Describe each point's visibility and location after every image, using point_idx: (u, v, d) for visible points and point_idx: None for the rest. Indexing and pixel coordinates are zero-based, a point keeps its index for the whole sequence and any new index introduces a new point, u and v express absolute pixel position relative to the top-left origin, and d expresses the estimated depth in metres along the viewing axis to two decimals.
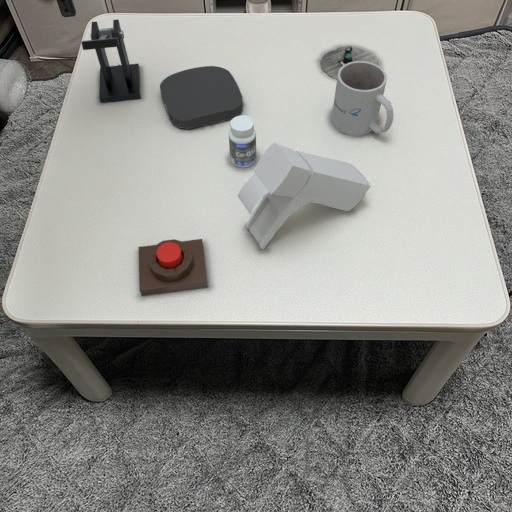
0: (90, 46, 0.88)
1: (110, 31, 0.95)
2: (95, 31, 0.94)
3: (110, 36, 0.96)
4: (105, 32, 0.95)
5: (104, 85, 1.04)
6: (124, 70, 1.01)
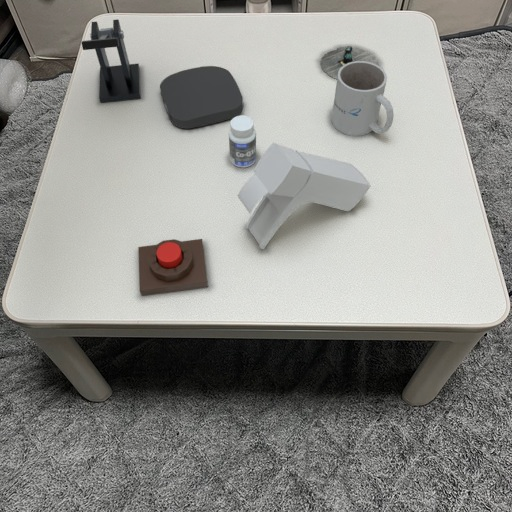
0: (90, 46, 0.88)
1: (110, 31, 0.95)
2: (95, 31, 0.94)
3: (110, 36, 0.96)
4: (105, 32, 0.95)
5: (104, 85, 1.04)
6: (124, 70, 1.01)
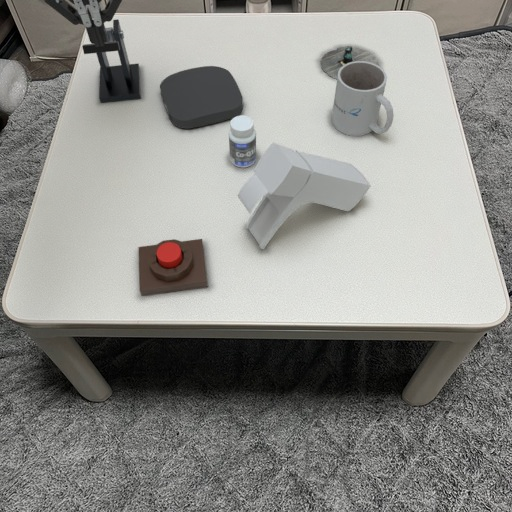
0: (91, 50, 0.88)
1: (110, 32, 0.95)
2: None
3: (110, 37, 0.96)
4: None
5: (104, 85, 1.04)
6: (124, 70, 1.01)
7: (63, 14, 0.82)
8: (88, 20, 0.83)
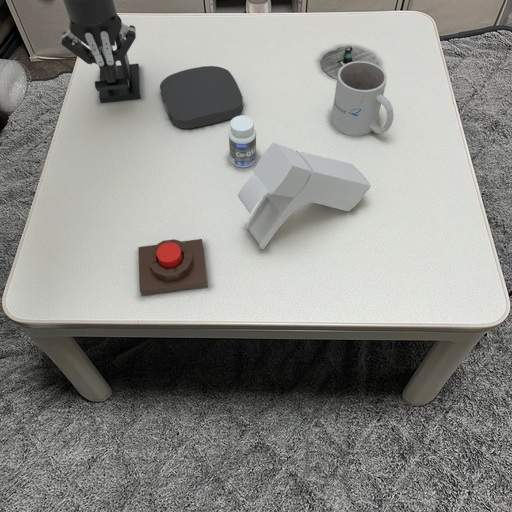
0: (103, 89, 0.95)
1: None
2: None
3: None
4: None
5: None
6: (124, 70, 1.01)
7: (78, 55, 0.88)
8: (101, 60, 0.89)
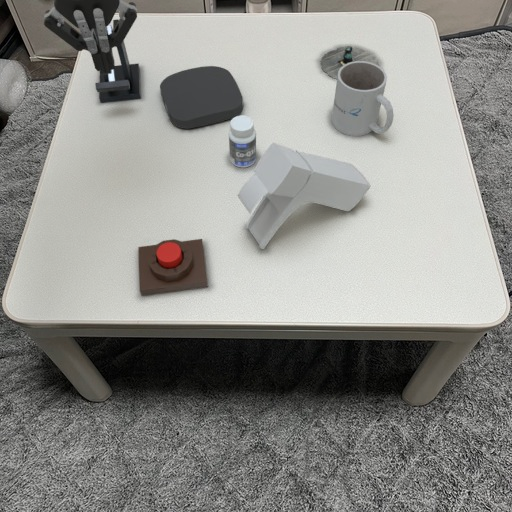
0: (104, 90, 0.95)
1: None
2: (95, 31, 0.94)
3: None
4: None
5: None
6: (124, 70, 1.01)
7: (65, 39, 0.71)
8: (94, 46, 0.72)
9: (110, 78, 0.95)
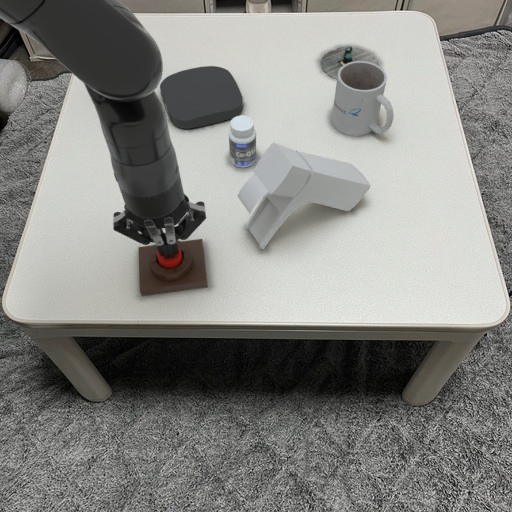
0: None
1: None
2: None
3: None
4: None
5: None
6: None
7: (133, 238, 0.70)
8: (160, 240, 0.72)
9: None
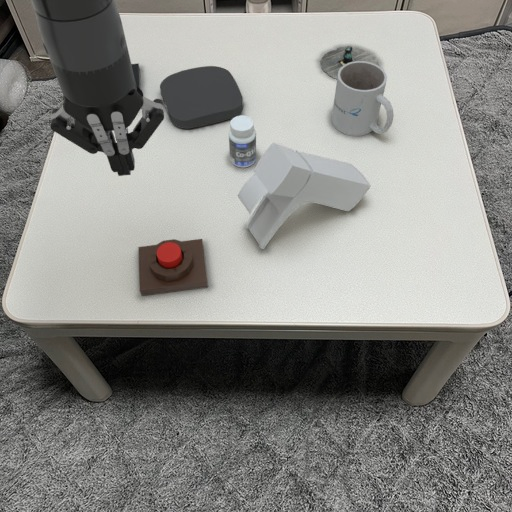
0: None
1: None
2: None
3: None
4: None
5: None
6: None
7: (76, 142, 0.58)
8: (111, 148, 0.60)
9: None
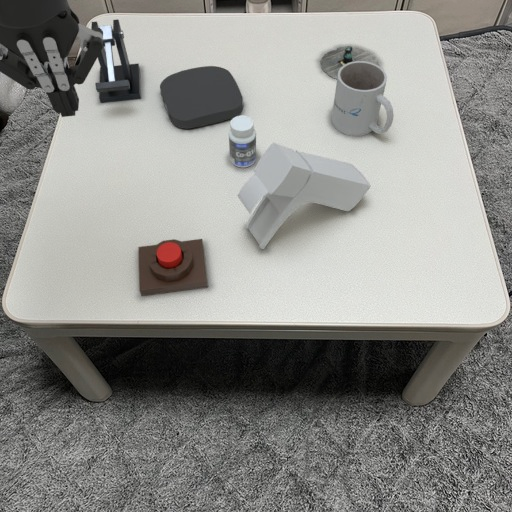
0: (104, 90, 0.95)
1: (112, 39, 0.96)
2: None
3: (112, 42, 0.97)
4: (107, 40, 0.96)
5: None
6: (124, 70, 1.01)
7: (10, 75, 0.54)
8: (49, 83, 0.56)
9: (110, 78, 0.95)
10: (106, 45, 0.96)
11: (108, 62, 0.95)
